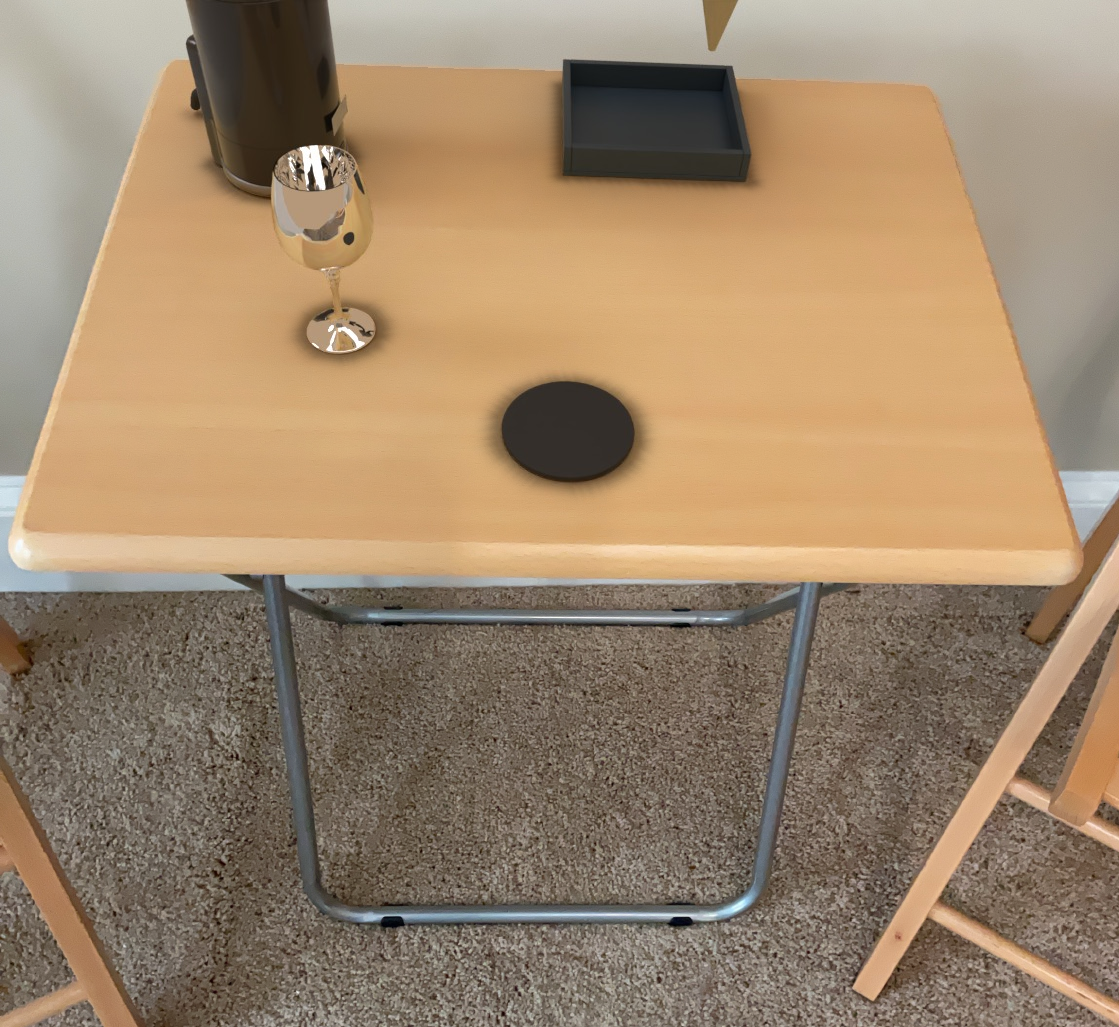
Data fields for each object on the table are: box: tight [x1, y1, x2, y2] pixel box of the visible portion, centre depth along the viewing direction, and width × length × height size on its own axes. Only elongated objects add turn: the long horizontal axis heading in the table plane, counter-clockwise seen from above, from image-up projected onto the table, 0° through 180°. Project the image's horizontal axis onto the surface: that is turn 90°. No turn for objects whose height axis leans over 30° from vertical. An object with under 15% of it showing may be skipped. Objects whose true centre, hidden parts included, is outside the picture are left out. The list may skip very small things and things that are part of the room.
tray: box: [561, 58, 752, 183], centre depth 83 cm, size 14×13×2 cm
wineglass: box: [270, 145, 377, 355], centre depth 63 cm, size 6×6×12 cm
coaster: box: [501, 380, 635, 483], centre depth 63 cm, size 8×8×1 cm
